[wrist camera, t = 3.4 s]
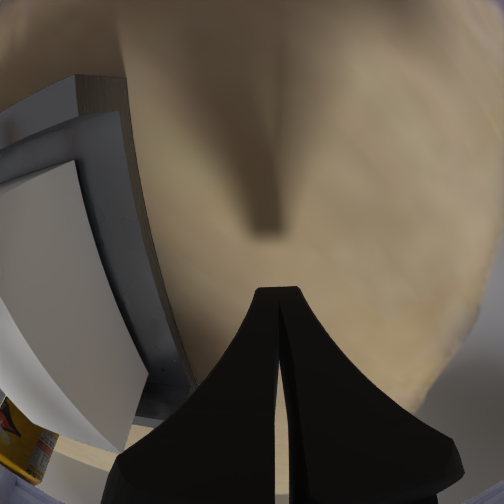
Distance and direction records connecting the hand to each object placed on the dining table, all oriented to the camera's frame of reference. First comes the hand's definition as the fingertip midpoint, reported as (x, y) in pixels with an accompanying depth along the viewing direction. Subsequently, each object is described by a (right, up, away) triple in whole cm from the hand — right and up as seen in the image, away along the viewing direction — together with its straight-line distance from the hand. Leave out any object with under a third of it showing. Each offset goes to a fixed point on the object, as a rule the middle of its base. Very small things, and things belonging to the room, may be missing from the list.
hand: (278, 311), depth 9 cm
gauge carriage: (-10, +1, +1) cm, 10 cm away
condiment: (-20, -11, +10) cm, 25 cm away
